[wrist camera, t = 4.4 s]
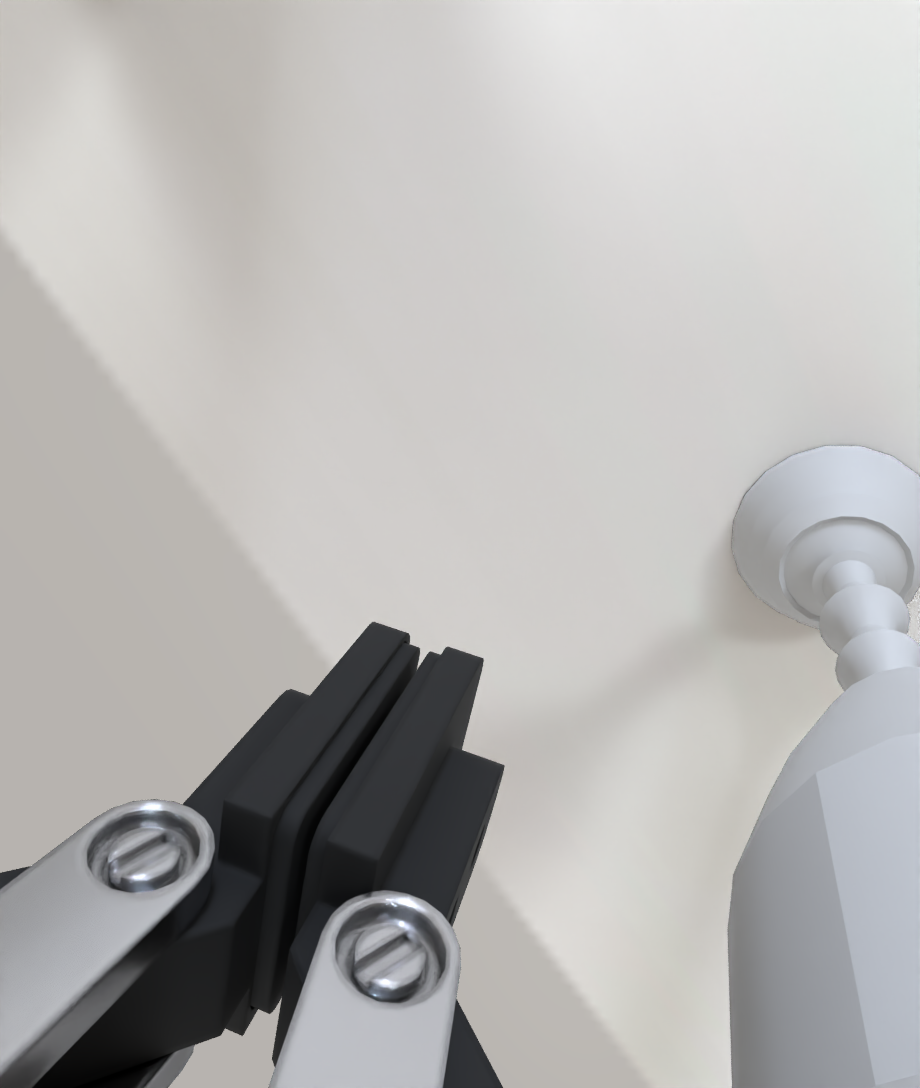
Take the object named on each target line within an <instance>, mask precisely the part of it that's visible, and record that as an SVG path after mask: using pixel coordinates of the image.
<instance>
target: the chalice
mask: <svg viewBox="0 0 920 1088" xmlns="http://www.w3.org/2000/svg"><path fill="white" fill-rule="evenodd" d="M732 551H733V554H734V558H735V561H736V565H737V568H738V571H739V574H740V576H741V577H742V578H743V580H744V581H745V582H746V584H747V585H748V587H749V588H750V589H751V591H752V592H753V593H754V595H755V596H756V597H758V598H759V599H760V600H762V601H763V602H765V603H766V604H767V605H769V606H770V607H772V608H773V609H774V610H776V611H777V612H779V613H782V614H785V615H786V616H788V617H789V618H792V619H795V620H796V621H797V622H799V623H802V624H805V625H807V626H810V627H813V628H816V629H819V630H820V633H821V637H822V638H823V640H824V642H825V643H826V645H827V646H828V647H829V648H830V649H832V650H833V651H834V652H835V653H837V654H838V655H839V656H838V658H837V662H836V669H835V671H836V676H837V680H838V682H839V684H840V685H841V687H842V688H843V690H844V691H845V692H844V693H843V694H842V695H840V696H839V697H838V698H837V699H836V700H835V701H834V702H833V703H832V704H831V705H830V707H829V708H828V709H827V710H826V712H825V713H824V714H823V715H822V716H821V718H820V719H819V720H818V721H817V722H816V724H815V725H814V726H813V727H812V728H811V730H810V731H809V732H808V733H807V734H806V736H805V737H804V738H803V739H802V741H801V742H800V743H799V744H798V745H797V747H796V748H795V749H794V750H793V751H792V753H791V754H790V756H789V758H788V759H787V761H786V763H785V765H784V767H783V769H782V771H781V773H780V774H779V776H778V778H777V780H776V782H775V784H774V786H773V788H772V789H771V791H770V793H769V795H768V798H767V800H766V802H765V804H764V807H763V809H762V811H761V813H760V815H759V818H758V820H757V822H756V824H755V827H754V829H753V831H752V833H751V836H750V838H749V840H748V842H747V845H746V847H745V849H744V851H743V854H742V856H741V858H740V860H739V863H738V865H737V867H736V869H735V872H734V874H733V882H732V892H731V902H730V912H729V921H728V962H729V997H730V1032H731V1067H732V1088H920V645H919V643H918V642H916V641H915V640H914V639H912V638H911V637H910V636H908V635H906V634H907V632H908V628H909V623H910V616H909V611H908V607H907V606H906V605H907V604H908V603H909V602H910V601H911V600H912V599H913V597H914V595H915V594H916V592H917V590H918V588H919V587H920V477H919V475H918V474H917V473H915V472H914V471H912V470H911V469H910V468H908V467H907V466H905V465H904V464H903V463H901V462H900V461H898V460H897V459H896V458H894V457H893V456H891V455H888V454H884V453H881V452H878V451H875V450H871V449H868V448H865V447H862V446H823V447H819V448H816V449H812V450H808V451H805V452H801V453H797V454H794V455H792V456H790V457H789V458H787V459H785V460H784V461H782V462H780V463H779V464H777V465H776V466H774V467H772V468H771V469H769V470H767V471H766V472H765V473H764V474H763V475H762V476H761V477H760V478H759V479H758V481H757V482H756V483H755V484H754V485H753V486H752V487H751V488H750V489H749V491H748V492H747V493H746V494H745V496H744V498H743V500H742V503H741V505H740V507H739V509H738V512H737V514H736V516H735V519H734V521H733V535H732Z"/></svg>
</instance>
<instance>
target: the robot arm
mask: <svg viewBox="0 0 920 1088" xmlns="http://www.w3.org/2000/svg"><path fill="white" fill-rule="evenodd" d="M409 643H410V635H409V633H406V632H403V631H400V630H397V629H394V628H391V627H388V626H385V625H382V624H379V623H376V622H372V623H371V624H370V625H369V626H368V627H367V628H366V629H365V631H364V632H363V633H362V634H361V635H360V637H359V638H358V639H357V640H356V641H355V643H354V644H353V645H352V646H351V647H350V649H349V650H348V651H347V652H346V653H345V655H344V656H343V657H342V658H341V659H340V661H339V662H338V663H337V664H336V665H335V667H334V668H333V669H332V670H331V671H330V672H329V674H328V675H327V676H326V677H325V678H324V680H323V681H322V682H321V683H320V685H319V686H318V687H317V688H316V689H315V691H314V692H313V693H312V694H311V695H310V696H309V695H306V694H304V693H301V692H298V691H295V690H292V689H290V690H286V691H285V692H284V693H283V694H282V695H281V696H280V697H279V698H278V699H277V700H276V701H275V702H274V703H273V704H272V705H271V707H270V708H269V709H268V710H267V711H266V712H265V713H264V715H262V717H261V718H260V719H259V720H258V721H257V722H256V723H255V724H254V726H253V727H252V728H251V729H250V730H249V731H248V732H247V733H246V734H245V735H244V737H243V738H242V739H241V740H240V741H239V742H238V743H237V745H236V746H235V747H234V748H233V749H232V750H231V751H230V752H229V753H228V755H227V756H226V757H225V758H224V759H223V760H222V761H221V762H220V763H219V765H218V766H217V767H216V768H215V769H214V770H213V771H212V772H211V774H210V775H209V776H208V777H207V778H206V779H205V780H204V781H203V782H202V784H201V785H200V786H199V787H198V788H197V789H196V790H195V791H194V792H193V794H192V795H191V796H190V797H189V798H188V799H187V800H186V801H185V802H184V803H183V805H182V804H180V803H177V802H174V801H166V800H158V799H151V800H140V801H132V802H129V803H126V804H123V805H120V806H117V807H113V808H111V809H109V810H108V811H106V812H104V813H103V814H101V815H99V816H97V817H96V818H94V819H93V820H91V821H90V822H89V823H87V824H86V825H85V826H83V827H82V828H81V829H79V830H78V831H77V832H76V833H74V834H73V835H72V836H70V837H69V838H68V839H66V840H65V841H64V842H62V843H61V844H60V845H58V846H57V847H56V848H54V849H53V850H52V851H50V852H49V853H48V854H46V855H45V856H44V857H43V858H41V859H40V860H38V861H37V862H36V863H34V864H33V865H32V866H30V867H25V868H20V869H16V870H11V871H7V872H2V873H0V1088H168V1087H169V1086H170V1085H171V1083H172V1082H173V1081H174V1080H175V1078H176V1077H177V1076H178V1075H179V1074H180V1072H181V1071H182V1070H183V1068H184V1066H185V1065H186V1063H187V1061H188V1060H189V1058H190V1056H191V1055H192V1053H193V1050H194V1046H195V1044H198V1043H201V1042H204V1041H207V1040H209V1039H212V1038H215V1037H218V1036H220V1035H221V1034H222V1032H223V1031H224V1029H225V1028H226V1029H228V1030H230V1031H233V1032H235V1033H237V1034H239V1035H242V1036H243V1035H244V1033H245V1031H246V1029H247V1028H248V1026H249V1024H250V1022H251V1021H252V1019H253V1017H254V1015H255V1014H256V1012H257V1010H258V1009H260V1010H262V1011H264V1012H266V1013H269V1014H270V1013H271V1012H273V1010H274V1009H275V1008H276V1006H277V1004H278V1003H279V1001H280V999H281V997H282V1001H281V1007H280V1013H279V1019H278V1025H277V1031H276V1038H275V1044H274V1050H273V1057H272V1060H273V1063H274V1066H275V1070H274V1072H273V1075H272V1078H271V1081H270V1084H269V1087H268V1088H503V1087H502V1085H501V1083H500V1081H499V1079H498V1077H497V1075H496V1073H495V1072H494V1070H493V1068H492V1066H491V1064H490V1062H489V1060H488V1058H487V1056H486V1054H485V1053H484V1051H483V1049H482V1047H481V1045H480V1043H479V1041H478V1039H477V1037H476V1035H475V1033H474V1032H473V1030H472V1028H471V1026H470V1024H469V1022H468V1020H467V1018H466V1016H465V1014H464V1012H463V1011H462V1009H461V1007H460V1005H459V1003H458V1001H457V999H456V997H457V990H458V983H459V977H460V970H461V957H460V956H461V955H460V946H459V943H458V940H457V938H456V935H455V932H454V930H453V928H452V926H453V923H454V921H455V918H456V915H457V912H458V909H459V907H460V904H461V901H462V899H463V896H464V893H465V890H466V888H467V885H468V882H469V879H470V877H471V874H472V871H473V868H474V865H475V863H476V860H477V857H478V854H479V851H480V848H481V845H482V842H483V839H484V836H485V833H486V830H487V826H488V823H489V820H490V817H491V813H492V810H493V807H494V803H495V800H496V796H497V793H498V789H499V786H500V782H501V779H502V775H503V771H504V765H502V764H499V763H496V762H494V761H491V760H488V759H485V758H482V757H480V756H477V755H474V754H471V753H468V752H466V751H463V750H462V746H463V742H464V738H465V735H466V731H467V727H468V723H469V719H470V715H471V711H472V707H473V703H474V699H475V695H476V691H477V687H478V684H479V680H480V676H481V672H482V667H483V661H484V660H483V658H480V657H477V656H474V655H471V654H468V653H465V652H462V651H459V650H456V649H453V648H450V647H446V648H445V650H444V651H443V653H442V654H441V655H439V654H437V653H434V652H429V653H428V654H427V656H426V657H425V659H424V660H423V662H422V663H421V665H420V666H419V668H418V670H417V665H418V661H419V655H420V648H419V647H416V646H413V645H410V644H409ZM416 670H417V671H416Z"/></svg>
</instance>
